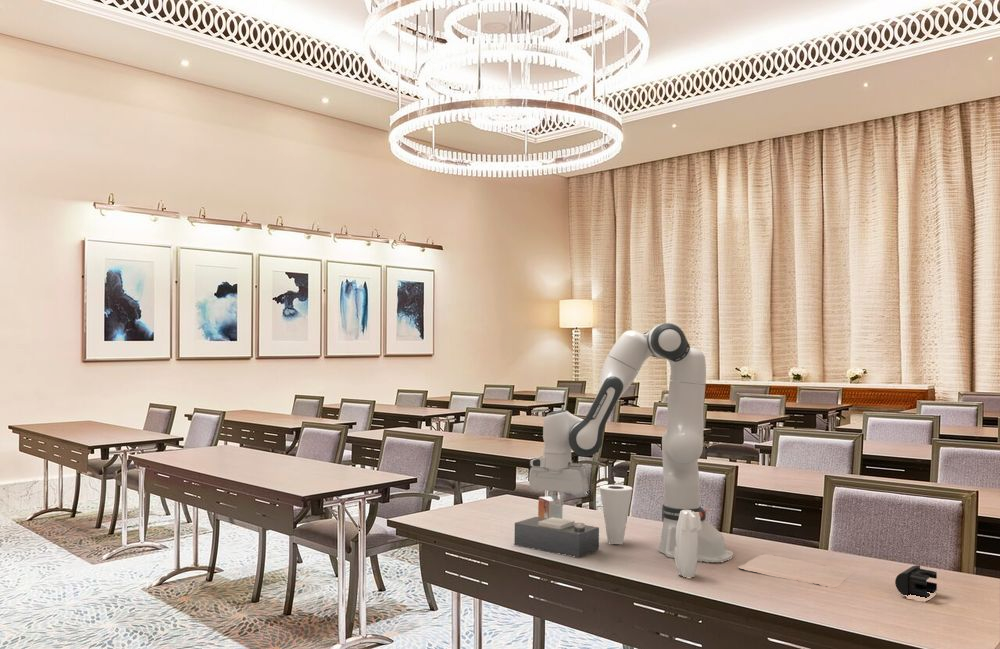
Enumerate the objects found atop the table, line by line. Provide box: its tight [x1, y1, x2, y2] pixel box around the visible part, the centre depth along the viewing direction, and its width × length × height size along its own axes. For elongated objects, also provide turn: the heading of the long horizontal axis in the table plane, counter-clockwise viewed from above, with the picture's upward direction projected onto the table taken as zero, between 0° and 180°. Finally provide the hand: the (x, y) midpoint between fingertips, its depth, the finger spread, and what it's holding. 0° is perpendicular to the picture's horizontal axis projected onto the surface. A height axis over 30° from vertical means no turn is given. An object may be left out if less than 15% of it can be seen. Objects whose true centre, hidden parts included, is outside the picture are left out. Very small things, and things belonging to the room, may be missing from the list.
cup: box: [598, 484, 633, 545], centre depth 243 cm, size 11×11×18 cm
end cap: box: [894, 565, 938, 598], centre depth 192 cm, size 10×7×7 cm
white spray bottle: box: [674, 510, 702, 578], centre depth 207 cm, size 7×18×7 cm
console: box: [513, 516, 600, 559], centre depth 236 cm, size 24×12×9 cm, turn 53°
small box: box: [537, 495, 564, 519], centre depth 262 cm, size 8×6×10 cm
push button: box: [538, 517, 576, 529], centre depth 236 cm, size 8×8×7 cm
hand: (558, 505), depth 236 cm, fingers closed
